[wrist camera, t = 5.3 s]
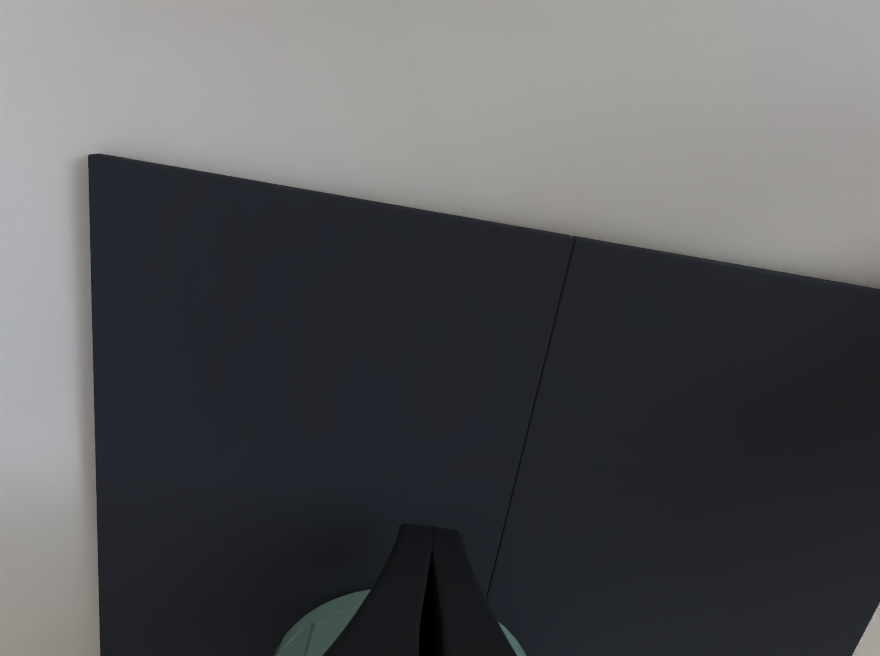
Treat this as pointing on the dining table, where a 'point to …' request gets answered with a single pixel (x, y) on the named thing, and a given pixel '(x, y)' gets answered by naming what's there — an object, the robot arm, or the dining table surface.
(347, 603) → the cup
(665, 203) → the dining table surface
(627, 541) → the mat
